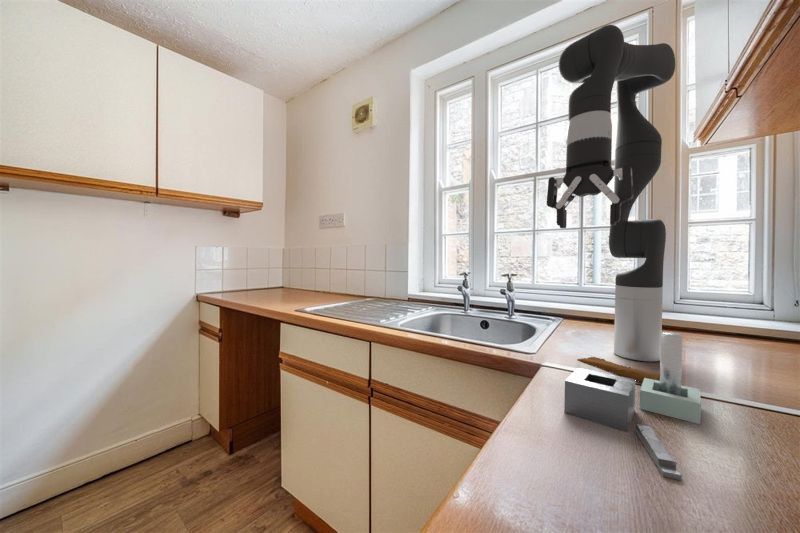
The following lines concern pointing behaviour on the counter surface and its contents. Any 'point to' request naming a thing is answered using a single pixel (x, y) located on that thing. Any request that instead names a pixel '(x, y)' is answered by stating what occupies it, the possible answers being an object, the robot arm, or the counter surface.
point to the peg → (671, 363)
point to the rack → (671, 401)
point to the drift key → (658, 452)
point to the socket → (600, 397)
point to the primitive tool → (620, 369)
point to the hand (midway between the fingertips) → (586, 226)
